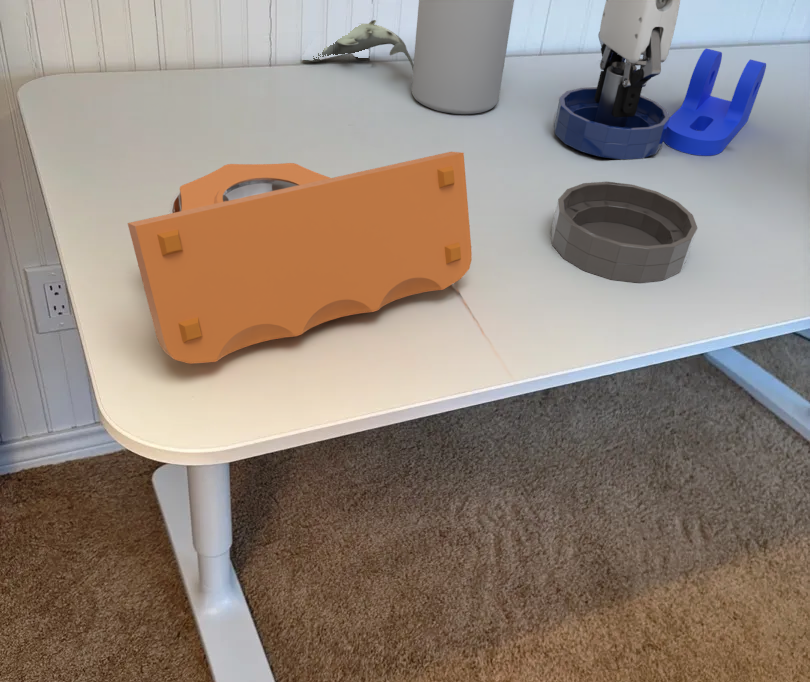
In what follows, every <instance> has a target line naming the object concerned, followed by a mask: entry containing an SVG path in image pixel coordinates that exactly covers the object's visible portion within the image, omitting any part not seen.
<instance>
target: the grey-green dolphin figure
mask: <svg viewBox="0 0 810 682" xmlns="http://www.w3.org/2000/svg"><path fill="white" fill-rule="evenodd" d="M376 22H377V20H376V19H373V20H370V21H369V23H360V24H361V25H359V26H358V27H355V28H354V29H353V30H352V31H350V33H348V35H345V36H342V38H340V39H338V40H337V41H336V42H335V44H334V43H333V45H330V46H329V47H327V46H326V48H324V50H323V52H322V55H323V56H322V57H324V55H325V56H326V54H327V56H329V55H331V54H333V55H334V54H335V55H338V54H345V53H348V54H347V55H349V54H351V53H355V52H359V51H362V50H365V49H368V48H369V49H371V48H374V47H378V46H383V45H384V46H385V45H392V46H393V47H392V48H391V49H390V51H389V56H393V55H395V54H398V53H402V54H404V55H405V56H406V58H407V59H408V61H409V63H410V66H411V69H412V70H413V65H414V61H413V60H412V57H411V55H410V53H409V52H408V49H407V46H406V43H405V42H404V40H403V39H402V38H401V37H400V36H399V35H398V34H396V33H395V32H393V31H392V30H390V29H388V28H387V27H384V26H382V25H378V24H376ZM320 55H321V54H320ZM320 55H319V53H318V56H320ZM313 57H314V56H313ZM320 57H321V56H320ZM316 58H317V57H316ZM354 58H355V60H358V61H370V60H371V59H370V57H369V58H358V57H354ZM313 59H314V61H313V62H318V61H317V60H320V59H319V57H318V59H315V58H313ZM315 60H316V61H315Z"/></svg>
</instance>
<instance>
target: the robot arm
mask: <svg viewBox="0 0 810 682" xmlns="http://www.w3.org/2000/svg"><path fill="white" fill-rule="evenodd" d="M680 5H681V0H605V3H604V8H603V11H602V16H601V20H600V25H599V32H598V35H597V36H598V40H599V44H600V53H601V60H600V63H599V68H600V73H599V78H598V83H597V86H596V87H597V90H596V94H595V99H594V100H595V101H596V102H597V103H599V102H600V97H601V93H602V89H603V85H604V80H605V76H606V72H607V68H608V67H610V66H611V65H612V63H614V62H625V69H624V76H623V85H619V86H618V90H617V94H616V98H615V102H614V106H613V110H612V116H614V117H633V116H634V115H635V113H636V110H637V106H638V102H639V98H640V95H641V96H642V90H643V88H645V87H646V86H647V82H649V81H650V80H651V79H652V78H654V77H656V76H659V75H660V74H661V72H662V63H664V62H666V61H667V58H668V56H669V52H670V49H671V45H672V42H673V39H674V33H675V30H676V25H677V19H678V16H679V10H680ZM641 55H642V58H641ZM634 66H636V67H638V66H640V67H639V68H637V70H636V71H635V72H634V73H633V68H634Z"/></svg>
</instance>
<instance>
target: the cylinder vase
mask: <svg viewBox="0 0 810 682" xmlns="http://www.w3.org/2000/svg"><path fill="white" fill-rule="evenodd" d="M514 5H515V0H418V7H417V17H416V18H417V19H416V29H415V30H416V31H415V41H414V42H415V44H414V52H413V53H414V54H413V69H412V78H411V95H412V96H413V98H414V99H415V100H416V101H417V103H418V102H419V104H421V105H423V106H424V107H426V108H429V109H430V110H434V111H436V112H437V111H438V112H442V113H447V114H452V115H453V114H454V115H474V114H481V113H485V112H487V111H489V110H491V109H493V108H495V107H496V105H497V104H498V103H499V101H500V94H501V87H502V83H503V82H502V81H503V75H504V69H505V63H506V56H507V50H508V49H507V48H508V43H509V37H510V36H509V35H510V30H511V23H512V18H513V17H512V16H513V11H514Z"/></svg>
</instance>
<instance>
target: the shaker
mask: <svg viewBox="0 0 810 682" xmlns="http://www.w3.org/2000/svg"><path fill="white" fill-rule="evenodd" d="M625 62H626V61H625ZM625 62H614V63H612V65H611V66H610V67H608V68H607V72H606V76H605V80H604V85H603V89H602V93H601V97H600V102H599V106H598V110H597V114H596V118H595V122H597V123H601V124H604V125H608V126H615V127H624V128H625V124H626V121H627V117H614V116H612V110H613V106H614V102H615V98H616V94H617V90H618V86H619V85H623V76H624V69H625ZM636 70H638V66H634V68H633V73H634V72H635V71H636Z"/></svg>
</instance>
